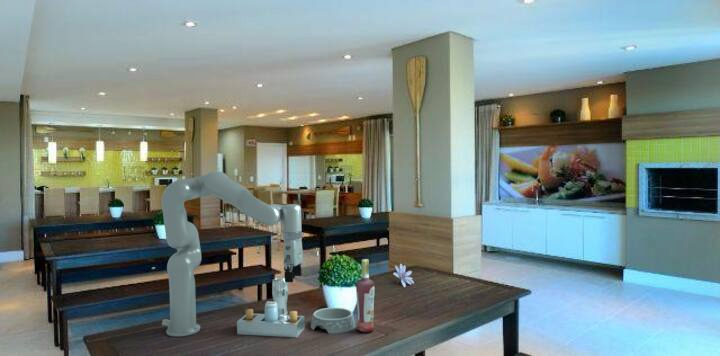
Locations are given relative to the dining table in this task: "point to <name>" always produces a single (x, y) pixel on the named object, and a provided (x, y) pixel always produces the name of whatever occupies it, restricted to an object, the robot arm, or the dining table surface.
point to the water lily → (403, 275)
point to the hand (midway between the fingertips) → (293, 278)
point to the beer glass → (280, 294)
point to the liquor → (365, 300)
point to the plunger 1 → (249, 314)
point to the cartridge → (271, 311)
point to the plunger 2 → (293, 316)
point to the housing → (270, 326)
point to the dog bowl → (333, 320)
